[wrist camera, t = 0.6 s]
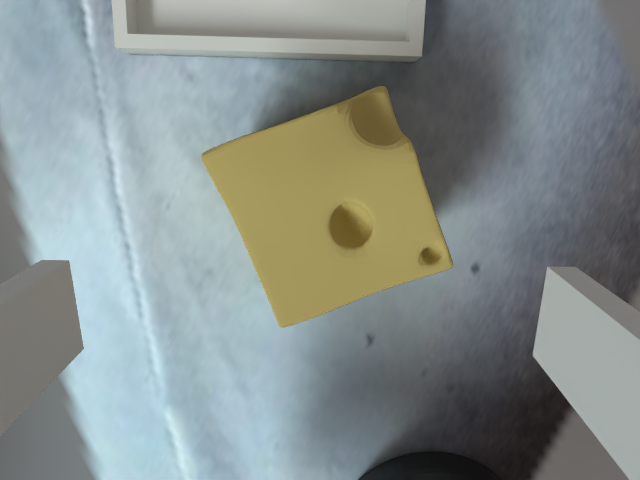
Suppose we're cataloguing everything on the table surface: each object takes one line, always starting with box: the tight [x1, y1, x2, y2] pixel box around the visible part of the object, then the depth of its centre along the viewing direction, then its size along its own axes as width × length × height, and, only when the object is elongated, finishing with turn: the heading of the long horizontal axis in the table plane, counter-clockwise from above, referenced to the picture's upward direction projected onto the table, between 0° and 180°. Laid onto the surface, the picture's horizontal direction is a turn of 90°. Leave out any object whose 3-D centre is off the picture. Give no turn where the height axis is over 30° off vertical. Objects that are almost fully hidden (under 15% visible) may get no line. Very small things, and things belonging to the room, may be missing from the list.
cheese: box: [201, 86, 453, 328], centre depth 28 cm, size 10×11×10 cm
